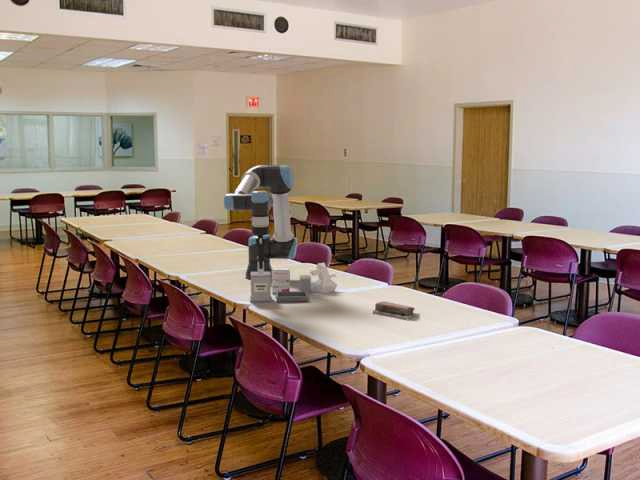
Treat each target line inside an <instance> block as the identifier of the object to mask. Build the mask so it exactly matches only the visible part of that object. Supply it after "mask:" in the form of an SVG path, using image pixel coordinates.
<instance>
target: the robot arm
mask: <svg viewBox="0 0 640 480" xmlns="http://www.w3.org/2000/svg"><path fill="white" fill-rule="evenodd" d="M240 180H241V181H240V183H239V184H238V186H237V187H236V189H235V190H234V192H232V193H226V194H225V195H224V198H223V206H224V209H225V210H227V211H251V218H250V219H249V221H251V226H252V227H251V235H252V236H250V237H249V238H248V246H247V248H248V250H247V251H248V265H247V268H246V272H245V278H246V279H248V280H251V272H258V276H264V272H270V273H271V279H272V269H273V268H272V266H271V260H274V259H275V260H277V259H279V260H280V259H281V260H291V259H295V257H296V253H297V248H298V237H295V234H294V233H293V232H292V227H291V226H292V225H291V212H290V210H291V209H290V197H289V194H290V192H291V191H292V188H294V184H295V183H294V181H295V180H294V173H293V169H292V167H291V166H289V165H286V164H271V165H270V164H266V165H265V164H258V165H255V166H253V167H251V168H249V169H248V170H246V171H245V172H244V173H243V175H242V177H241V178H240ZM259 188H260V189H261V188H262V189H265V188H266V189H268V191H266V190H256V189H259ZM271 209H272V212H273V213H272V214H273V224H274V233H273V235H272V237H271V236H270V228H269V224H270V218H269V217H270V216H269V211H270V210H271Z"/></svg>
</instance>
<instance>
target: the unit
mask: <svg viewBox="0 0 640 480" xmlns="http://www.w3.org/2000/svg"><path fill="white" fill-rule="evenodd" d="M250 302H261V303H272V302H273V300H272V278H271V273H270V272H264V276H258V272H251V279H250V296H249V303H250Z"/></svg>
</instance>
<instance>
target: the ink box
mask: <svg viewBox="0 0 640 480" xmlns="http://www.w3.org/2000/svg"><path fill="white" fill-rule="evenodd" d="M290 289H291V269H290V268H275V267H274V268H272V278H271V294H272V293H276V292H291V290H290Z"/></svg>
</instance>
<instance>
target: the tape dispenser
mask: <svg viewBox="0 0 640 480" xmlns="http://www.w3.org/2000/svg"><path fill="white" fill-rule="evenodd" d="M329 273H330V272H329V269H328V268H327V265H326V262H319V263H317V265H316V270H315V269H313V270H310V274H311V275H310V276H313V277H314V276H317V277H318V279H317V280H316V281H315V282H313V283H311V292H313V293H318V294H319V293H320V294H325V293H332V292H335V291H336V288H337V287H338V283H336V282H335V281H334V280H333V279H332V278H335V277H337V274H335V273H331V274H329Z"/></svg>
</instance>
